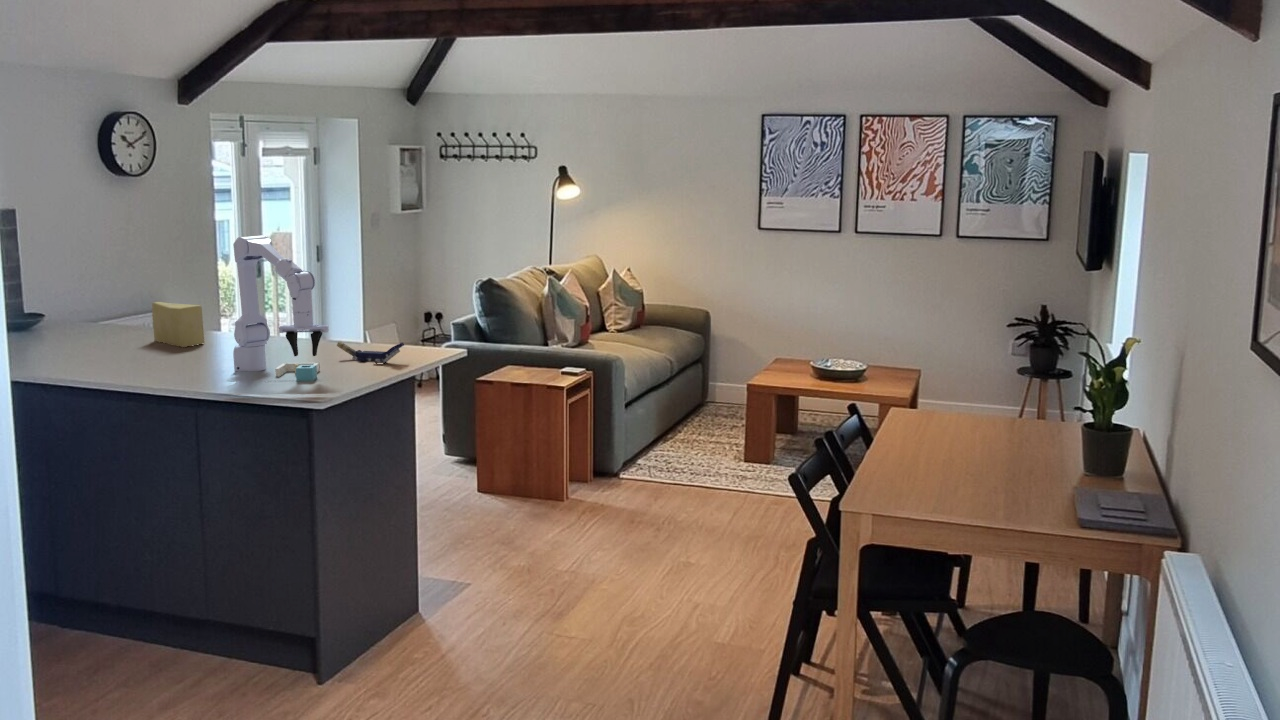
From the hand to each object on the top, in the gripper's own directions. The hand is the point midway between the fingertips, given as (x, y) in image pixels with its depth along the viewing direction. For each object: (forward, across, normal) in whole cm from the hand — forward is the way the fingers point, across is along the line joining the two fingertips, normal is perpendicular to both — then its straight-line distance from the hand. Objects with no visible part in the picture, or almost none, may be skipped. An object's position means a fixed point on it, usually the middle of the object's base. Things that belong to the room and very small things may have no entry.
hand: (305, 355), depth 348 cm
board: (+8, -4, +11) cm, 14 cm away
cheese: (+9, -67, +72) cm, 99 cm away
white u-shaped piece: (+7, -5, +9) cm, 13 cm away
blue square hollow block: (+7, 0, 0) cm, 7 cm away
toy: (+9, +13, +31) cm, 35 cm away
